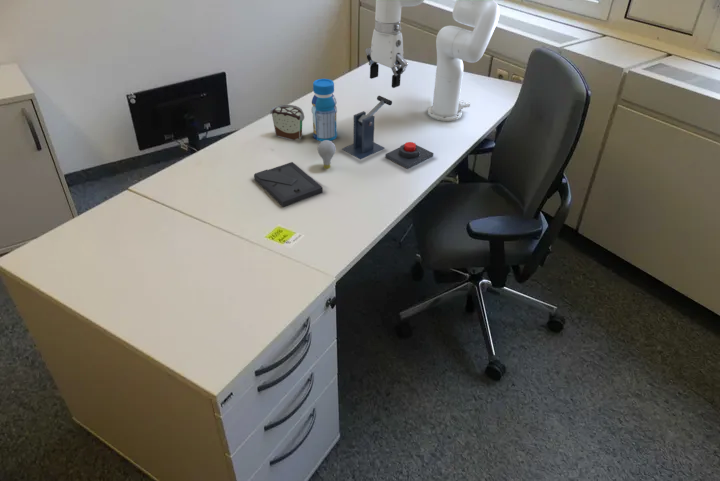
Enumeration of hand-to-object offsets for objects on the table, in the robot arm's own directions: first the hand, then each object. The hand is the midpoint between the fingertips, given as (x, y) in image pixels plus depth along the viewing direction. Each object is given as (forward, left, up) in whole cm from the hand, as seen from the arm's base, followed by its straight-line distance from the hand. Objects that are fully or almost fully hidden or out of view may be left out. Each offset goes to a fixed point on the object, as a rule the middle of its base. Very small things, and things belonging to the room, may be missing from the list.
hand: (384, 82), depth 172 cm
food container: (+27, -16, -22) cm, 38 cm away
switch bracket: (+8, +3, -21) cm, 23 cm away
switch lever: (+4, +2, -9) cm, 10 cm away
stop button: (-4, +13, -18) cm, 23 cm away
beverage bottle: (+17, -10, -22) cm, 29 cm away
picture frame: (+37, +15, -22) cm, 46 cm away
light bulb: (+23, +10, -22) cm, 33 cm away
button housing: (-4, +13, -21) cm, 26 cm away
